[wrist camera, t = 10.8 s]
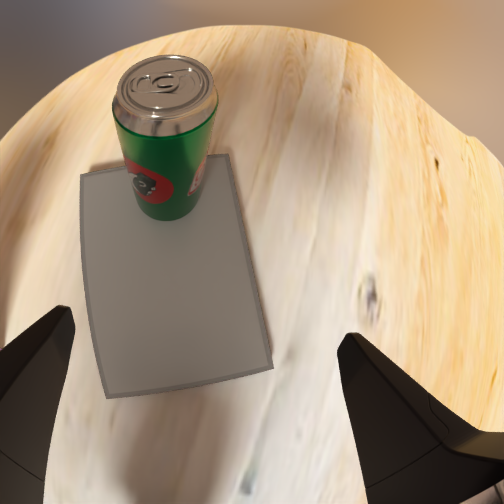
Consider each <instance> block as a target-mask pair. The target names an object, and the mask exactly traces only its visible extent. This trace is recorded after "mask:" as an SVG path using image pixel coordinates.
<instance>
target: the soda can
mask: <svg viewBox="0 0 504 504" xmlns="http://www.w3.org/2000/svg"><path fill="white" fill-rule="evenodd" d="M217 106H218V93H217V90H216V88H215V86H214V82H213V78H212V75H211V73H210V71H209V70H208V69H207V67H205V66H204V65H203V64H202V63H200V62H198V61H197V60H194V59H192V58H189V57H186V56H180V55H160V56H155V57H151V58H147V59H145V60H142V61H140V62H138V63H136V64H135V65H133V66H132V67H130V68H129V69H128V70H127V71H126V72H125V73H124V74H123V76H122V77H121V79H120V81H119V83H118V87H117V92H116V94H115V96H114V99H113V102H112V112H113V117H114V121H115V125H116V130H117V134H118V138H119V141H120V145H121V149H122V153H123V157H124V160H125V164H126V167H127V171H128V174H129V178H130V181H131V184H132V188H133V191H134V194H135V197H136V201H137V203H138V205H139V207H140V209H141V210H142V211H143V212H144V213H145V214H146V215H147V216H149V217H150V218H153V219H155V220H159V221H174V220H177V219H180V218H182V217H184V216H186V215H187V214H188V213H190V212H191V211H192V210H193V208H194V207H195V206H196V204H197V202H198V199H199V195H200V190H201V184H202V179H203V173H204V168H205V163H206V158H207V153H208V148H209V143H210V138H211V134H212V129H213V124H214V120H215V115H216V111H217Z"/></svg>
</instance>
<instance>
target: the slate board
mask: <svg viewBox="0 0 504 504" xmlns="http://www.w3.org/2000/svg"><path fill="white" fill-rule="evenodd" d="M80 243H81V259H82V271H83V281H84V290H85V298H86V306H87V313H88V319H89V325H90V331H91V336H92V341H93V347H94V351H95V356H96V361H97V365H98V369H99V373H100V377H101V381H102V385H103V389H104V392H105V396H106V399H112V398H122V397H132V396H140V395H148V394H155V393H162V392H168V391H175V390H181V389H186V388H192V387H197V386H202V385H208V384H212V383H217V382H222V381H226V380H231V379H235V378H239V377H244V376H248V375H252V374H256V373H260V372H263V371H267V370H271V369H274V366H273V361H272V357H271V352H270V348H269V343H268V338H267V334H266V329H265V324H264V320H263V315H262V310H261V306H260V301H259V296H258V292H257V287H256V282H255V278H254V273H253V268H252V263H251V259H250V254H249V249H248V245H247V240H246V235H245V231H244V226H243V221H242V216H241V212H240V207H239V202H238V197H237V193H236V188H235V183H234V178H233V174H232V169H231V164H230V159H229V155H228V154H218V155H207V158H206V163H205V168H204V173H203V179H202V184H201V190H200V195H199V199H198V202H197V204H196V206H195V207H194V208H193V210H192V211H191V212H190V213H188V214H187V215H186V216H184V217H182V218H180V219H177V220H174V221H159V220H155V219H153V218H150V217H149V216H147V215H146V214H145V213H144V212H143V211H142V210H141V209H140V207H139V205H138V203H137V201H136V197H135V194H134V191H133V188H132V184H131V181H130V178H129V174H128V171H127V167H126V166H122V167H116V168H111V169H105V170H100V171H95V172H90V173H85V174H80Z"/></svg>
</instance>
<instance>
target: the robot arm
mask: <svg viewBox="0 0 504 504" xmlns="http://www.w3.org/2000/svg"><path fill="white" fill-rule="evenodd" d="M74 335H75V323H74V319H73V315H72V311H71V309H70V307H68V306H63V305H58V306H56V307H55V308H53V309H52V310H51V311H49V312H48V313H47V314H45V315H44V316H43V317H41V318H40V319H39V320H38V321H36V322H35V323H34V324H32V325H31V326H30V327H29V328H27V329H26V330H25V331H24V332H22V333H21V334H20V335H19V336H17V337H16V338H15V339H14V340H12V341H11V342H10V343H9V344H8V345H6V346H5V347H4V348H3V349H2V350H0V504H43V497H44V486H45V476H46V468H47V461H48V454H49V448H50V443H51V437H52V432H53V427H54V423H55V418H56V414H57V409H58V405H59V401H60V397H61V393H62V390H63V386H64V382H65V379H66V375H67V370H68V365H69V359H70V354H71V349H72V344H73V340H74ZM337 357H338V363H339V370H340V376H341V383H342V389H343V394H344V398H345V402H346V406H347V410H348V414H349V418H350V422H351V426H352V431H353V435H354V439H355V443H356V448H357V452H358V457H359V461H360V466H361V470H362V475H363V480H364V485H365V491H366V496H367V501H368V504H504V432H485V431H481V430H478V429H476V428H475V427H473V426H472V425H470V424H469V423H468V422H466V421H465V420H463V419H462V418H461V417H459V416H458V415H456V414H455V413H454V412H452V411H451V410H450V409H448V408H447V407H446V406H444V405H443V404H442V403H441V402H439V401H438V400H437V399H436V398H435V397H434V396H432V395H431V394H430V393H428V392H427V391H426V390H425V389H424V388H423V387H422V386H421V385H419V384H418V383H417V382H416V381H415V380H414V379H412V378H411V377H410V376H409V375H408V374H407V373H405V372H404V371H403V370H402V369H401V368H400V367H398V366H397V365H396V364H395V363H394V362H393V361H391V360H390V359H389V358H388V357H387V356H386V355H384V354H383V353H382V352H381V351H380V350H378V349H377V348H376V347H375V346H374V345H373V344H371V343H370V342H369V341H368V340H367V339H366V338H364V337H363V336H362V335H361V334H360V333H347V334H346V335H345V337H344V339H343V340H342V342H341V344H340V345H339V347H338V350H337Z"/></svg>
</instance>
